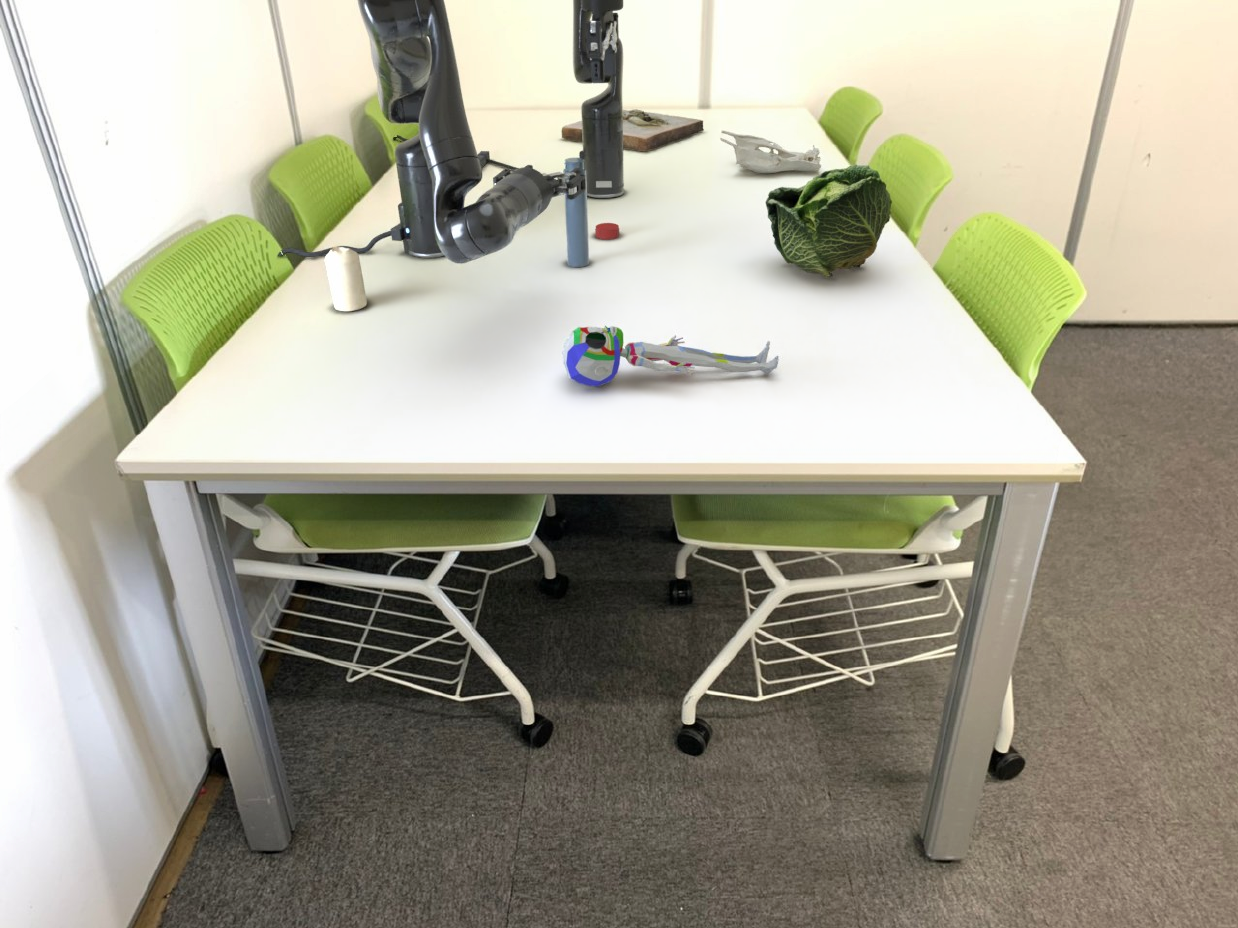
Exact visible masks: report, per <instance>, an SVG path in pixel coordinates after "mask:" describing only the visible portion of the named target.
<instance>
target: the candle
mask: <svg viewBox="0 0 1238 928" xmlns="http://www.w3.org/2000/svg"><path fill="white" fill-rule="evenodd" d="M331 248H332V247H331ZM324 262H325V269H326V273H327V278H328V284H329V289H330V295H331V298H332V304H333V307H334V309H335V310H337V311H340V312H352V311H358V310H361V309H363V308H365V307H366V306H367V304H368V300H367V294H366V288H365V282H364V276H363V271H362V264H361V260H360V253H356V252H355V251H353V250H351V249H347V248H344V247H337V246H333V248H332V249H331V250H330V252H329V253H328V254H326V255H325V257H324Z"/></svg>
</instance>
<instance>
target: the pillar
mask: <svg viewBox="0 0 1238 928" xmlns="http://www.w3.org/2000/svg"><path fill="white" fill-rule="evenodd" d="M477 155H478V159H479V162H480V165H481V169H482V168H484V167H485V165H486V164H487V163H488V162H487V159H490V160H491V156H490V151H489V150H481V151H479V152H478V153H477Z"/></svg>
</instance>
